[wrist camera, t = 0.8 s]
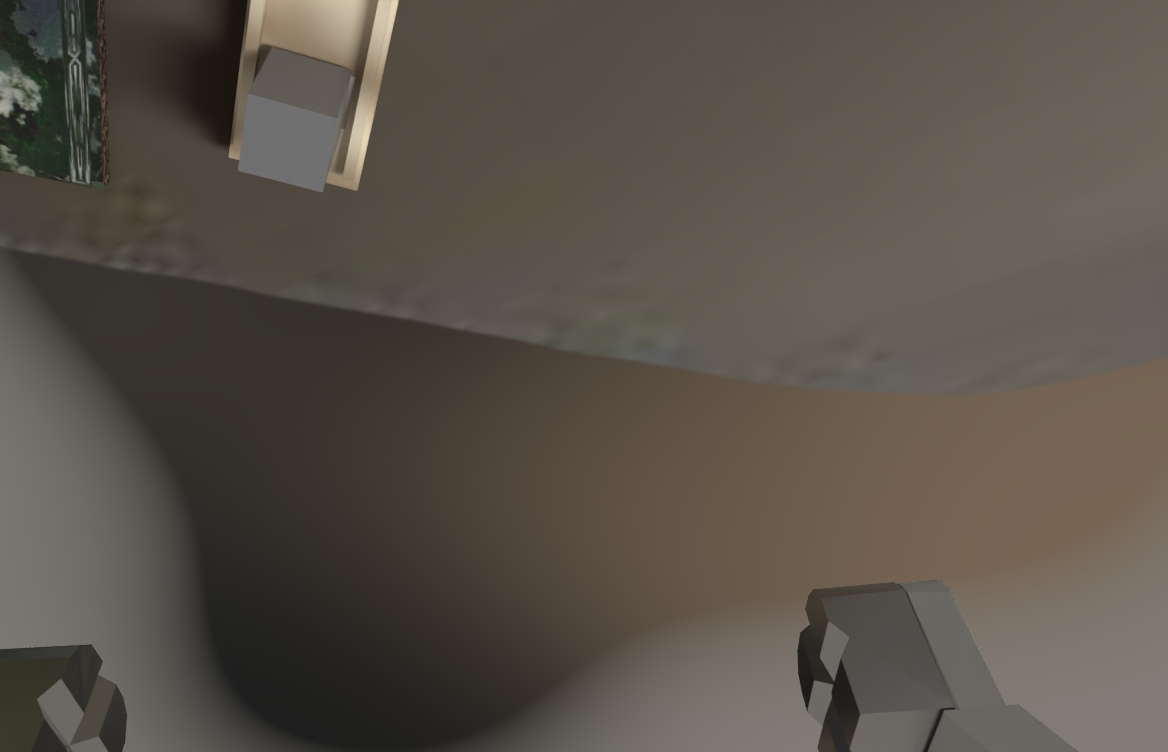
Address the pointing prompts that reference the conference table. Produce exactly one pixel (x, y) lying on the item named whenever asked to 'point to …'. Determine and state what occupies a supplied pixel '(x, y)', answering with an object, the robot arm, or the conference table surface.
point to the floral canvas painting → (54, 90)
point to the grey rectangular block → (294, 119)
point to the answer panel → (329, 34)
